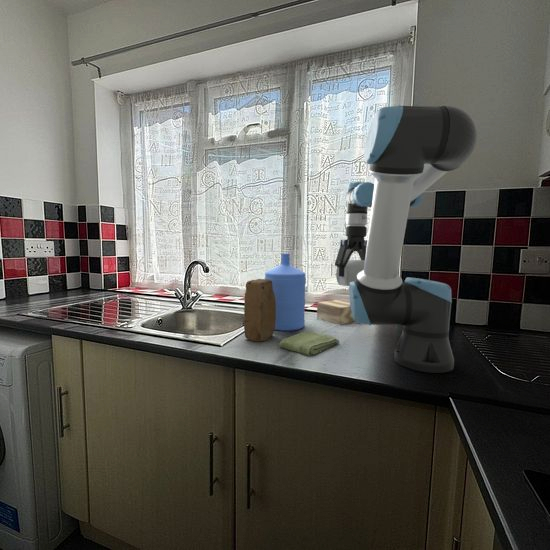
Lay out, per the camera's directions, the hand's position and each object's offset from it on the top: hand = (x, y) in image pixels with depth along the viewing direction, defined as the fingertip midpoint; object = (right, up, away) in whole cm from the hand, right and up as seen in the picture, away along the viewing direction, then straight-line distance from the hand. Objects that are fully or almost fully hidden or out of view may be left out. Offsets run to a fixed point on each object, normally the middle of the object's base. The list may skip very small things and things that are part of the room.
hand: (353, 284), depth 125 cm
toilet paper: (0, -1, 0) cm, 1 cm away
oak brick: (-3, -16, +17) cm, 23 cm away
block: (-35, -18, -12) cm, 41 cm away
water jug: (-26, -16, +4) cm, 31 cm away
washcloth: (-19, -20, -19) cm, 33 cm away
